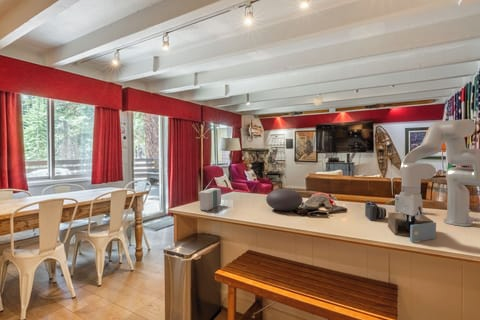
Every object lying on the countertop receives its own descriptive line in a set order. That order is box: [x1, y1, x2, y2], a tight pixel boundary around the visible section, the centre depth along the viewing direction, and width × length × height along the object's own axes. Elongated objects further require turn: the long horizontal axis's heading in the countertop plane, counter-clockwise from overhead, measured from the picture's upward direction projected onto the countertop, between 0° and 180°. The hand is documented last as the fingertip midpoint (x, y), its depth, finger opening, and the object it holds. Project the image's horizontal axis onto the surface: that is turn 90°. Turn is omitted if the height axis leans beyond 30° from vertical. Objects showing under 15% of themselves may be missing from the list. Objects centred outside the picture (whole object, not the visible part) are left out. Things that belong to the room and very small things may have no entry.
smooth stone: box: [265, 188, 304, 212], centre depth 183 cm, size 25×25×15 cm
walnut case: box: [387, 211, 434, 237], centre depth 134 cm, size 16×14×8 cm
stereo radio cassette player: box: [198, 178, 222, 212], centre depth 192 cm, size 21×8×20 cm, turn 159°
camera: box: [364, 200, 387, 222], centre depth 161 cm, size 14×11×10 cm
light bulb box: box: [394, 194, 400, 213], centre depth 177 cm, size 11×7×11 cm, turn 58°
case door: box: [409, 222, 437, 243], centre depth 121 cm, size 15×2×7 cm, turn 108°
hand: (409, 228), depth 124 cm, fingers closed
